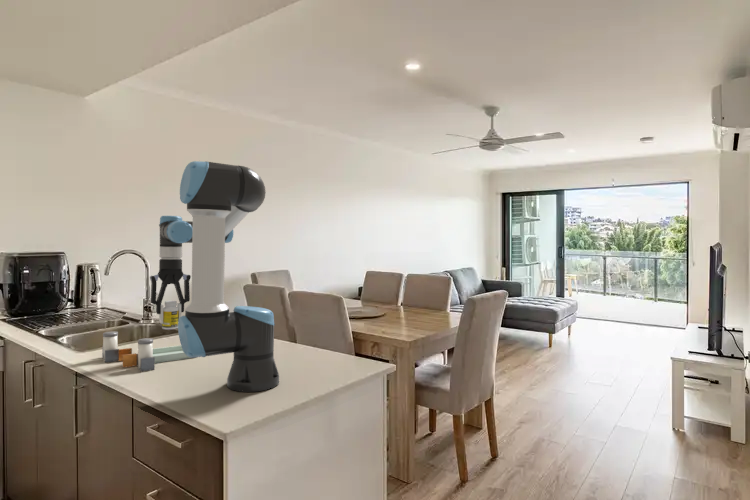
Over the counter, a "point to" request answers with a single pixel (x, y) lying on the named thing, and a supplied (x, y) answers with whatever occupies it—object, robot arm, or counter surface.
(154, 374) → the counter surface
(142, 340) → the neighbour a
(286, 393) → the counter surface
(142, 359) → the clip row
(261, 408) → the counter surface
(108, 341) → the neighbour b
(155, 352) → the tray
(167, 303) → the supplement bottle
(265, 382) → the robot arm
